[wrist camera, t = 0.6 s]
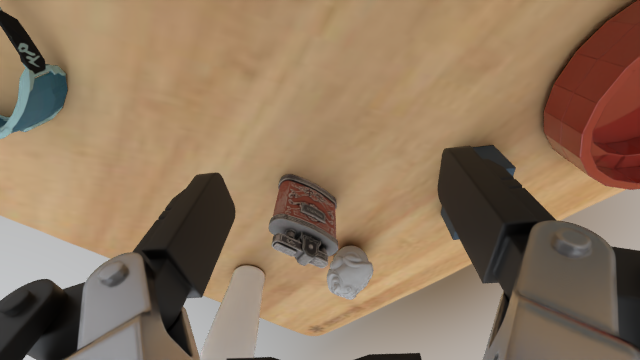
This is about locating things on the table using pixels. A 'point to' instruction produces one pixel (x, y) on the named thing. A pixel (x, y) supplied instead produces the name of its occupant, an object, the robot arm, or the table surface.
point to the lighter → (304, 221)
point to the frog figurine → (349, 272)
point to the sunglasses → (32, 83)
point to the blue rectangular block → (484, 153)
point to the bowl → (601, 104)
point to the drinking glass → (236, 317)
